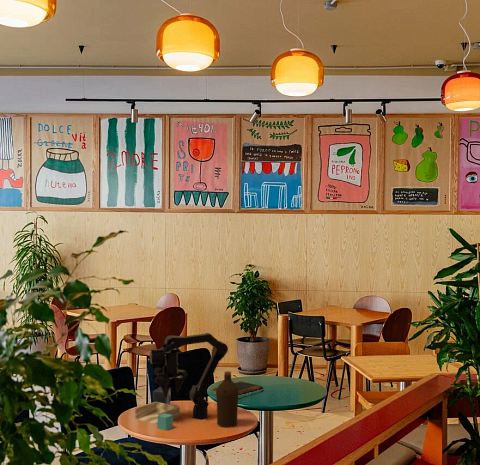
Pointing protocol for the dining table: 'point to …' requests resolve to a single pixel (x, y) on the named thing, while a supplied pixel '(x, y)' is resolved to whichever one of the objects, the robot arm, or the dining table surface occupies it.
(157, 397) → the small box
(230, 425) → the olive oil
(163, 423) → the teal block
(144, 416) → the birch crate
